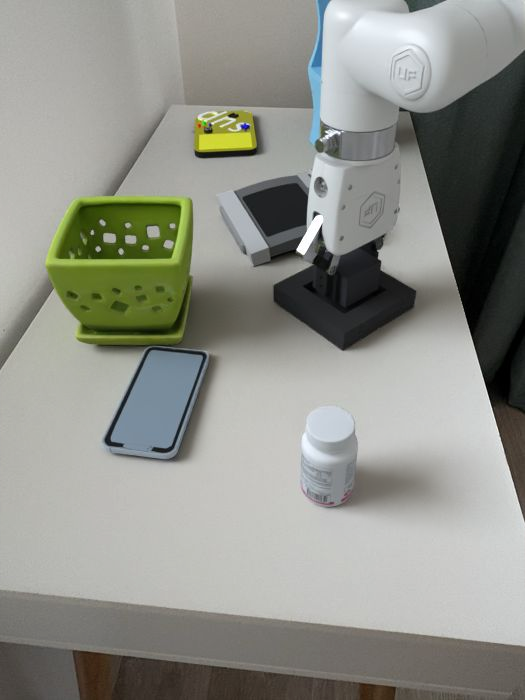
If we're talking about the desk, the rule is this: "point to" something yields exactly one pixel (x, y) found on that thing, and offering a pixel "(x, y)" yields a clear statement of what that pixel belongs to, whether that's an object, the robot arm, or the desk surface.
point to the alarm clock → (267, 215)
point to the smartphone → (157, 403)
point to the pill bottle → (328, 456)
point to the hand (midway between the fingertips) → (345, 284)
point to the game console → (224, 134)
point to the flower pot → (125, 269)
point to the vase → (317, 71)
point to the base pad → (336, 319)
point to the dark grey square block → (355, 276)
